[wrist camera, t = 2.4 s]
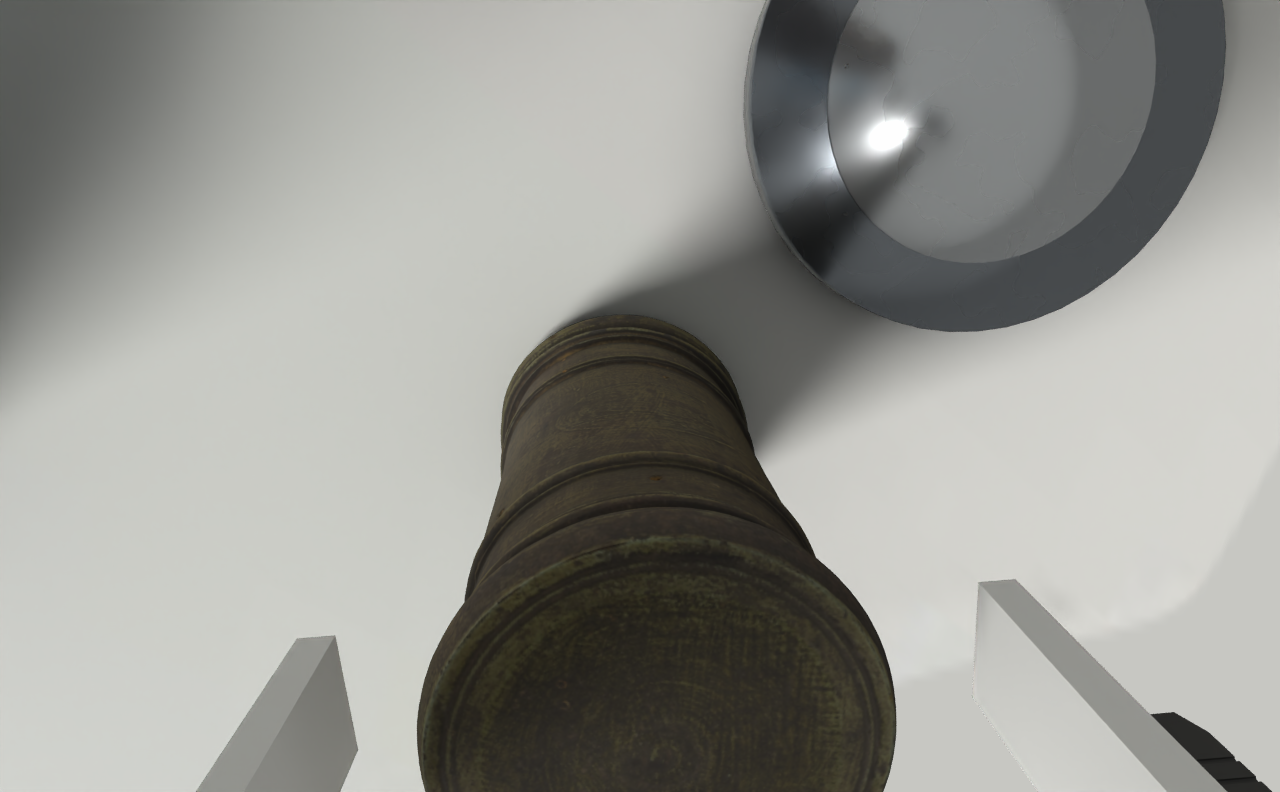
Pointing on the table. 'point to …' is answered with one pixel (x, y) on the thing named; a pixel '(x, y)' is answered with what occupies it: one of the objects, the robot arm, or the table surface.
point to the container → (648, 598)
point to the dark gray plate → (977, 144)
